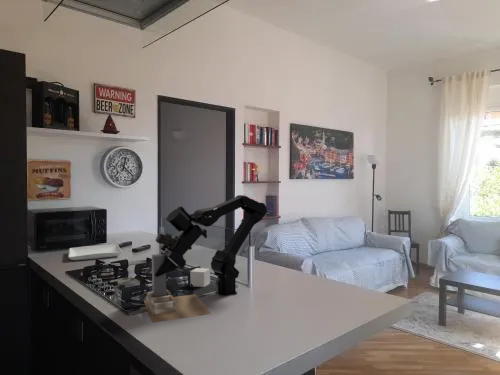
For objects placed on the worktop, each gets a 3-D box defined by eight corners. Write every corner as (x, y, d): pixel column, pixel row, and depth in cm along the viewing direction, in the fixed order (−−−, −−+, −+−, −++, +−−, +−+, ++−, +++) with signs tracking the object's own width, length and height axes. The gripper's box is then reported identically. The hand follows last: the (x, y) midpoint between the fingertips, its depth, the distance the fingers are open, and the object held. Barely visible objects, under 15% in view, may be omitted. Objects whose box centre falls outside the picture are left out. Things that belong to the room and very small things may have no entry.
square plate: (69, 253, 217) (69, 247, 217) (118, 249, 229) (118, 243, 229) (68, 263, 193) (68, 255, 193) (122, 258, 204) (122, 251, 204)
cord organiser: (195, 296, 133) (195, 285, 133) (211, 316, 114) (211, 302, 114) (143, 303, 126) (143, 291, 126) (152, 325, 107) (152, 311, 107)
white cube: (204, 287, 146) (204, 272, 146) (190, 286, 148) (190, 271, 147) (210, 283, 152) (210, 268, 151) (197, 282, 153) (196, 267, 153)
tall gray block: (164, 291, 127) (163, 253, 126) (166, 294, 123) (165, 255, 123) (152, 292, 125) (151, 254, 125) (154, 295, 121) (153, 256, 121)
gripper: (165, 221, 134) (134, 254, 130) (175, 227, 116) (139, 265, 112) (186, 241, 137) (157, 273, 133) (199, 249, 120) (166, 287, 116)
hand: (154, 274), depth 123 cm, fingers closed on tall gray block, 4 cm apart
